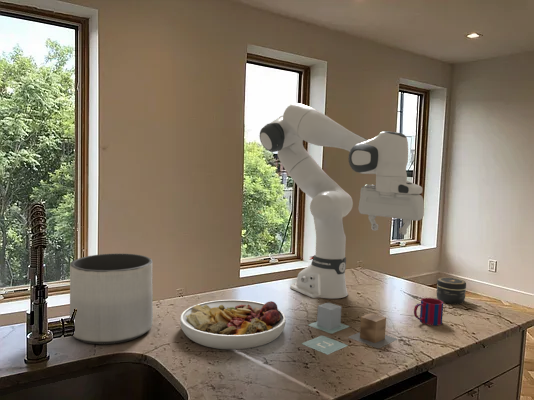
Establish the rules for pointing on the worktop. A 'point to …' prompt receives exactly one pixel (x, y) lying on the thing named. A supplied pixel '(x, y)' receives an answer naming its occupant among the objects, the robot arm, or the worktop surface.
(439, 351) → the worktop surface
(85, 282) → the planter
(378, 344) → the slate coaster
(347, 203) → the robot arm
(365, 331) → the walnut block
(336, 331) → the code tile
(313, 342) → the code tile
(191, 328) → the bowl
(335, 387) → the worktop surface
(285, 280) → the worktop surface
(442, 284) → the jar
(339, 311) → the blue-grey block
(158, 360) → the worktop surface
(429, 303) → the mug
